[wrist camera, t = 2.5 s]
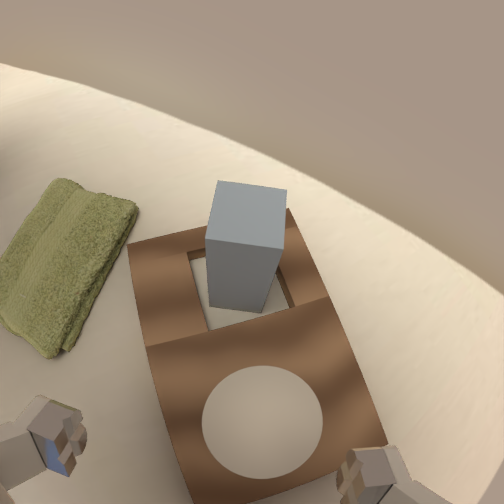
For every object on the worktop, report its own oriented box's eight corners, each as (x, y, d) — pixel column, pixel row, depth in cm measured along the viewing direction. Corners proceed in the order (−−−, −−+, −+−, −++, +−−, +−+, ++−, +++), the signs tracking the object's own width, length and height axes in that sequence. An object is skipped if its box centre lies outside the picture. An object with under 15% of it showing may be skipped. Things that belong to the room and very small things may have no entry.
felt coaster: (187, 384, 23) (186, 383, 22) (297, 352, 25) (299, 350, 24) (224, 491, 19) (224, 493, 18) (335, 452, 21) (338, 453, 20)
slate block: (209, 306, 28) (204, 238, 18) (217, 261, 30) (217, 180, 20) (260, 313, 28) (283, 249, 18) (265, 267, 30) (286, 189, 21)
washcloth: (-16, 309, 25) (-33, 297, 22) (63, 186, 33) (55, 168, 31) (66, 370, 23) (50, 363, 21) (150, 217, 32) (145, 197, 29)
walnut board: (130, 253, 29) (126, 244, 28) (285, 217, 33) (288, 208, 32) (199, 509, 19) (198, 515, 17) (379, 443, 22) (388, 443, 21)
